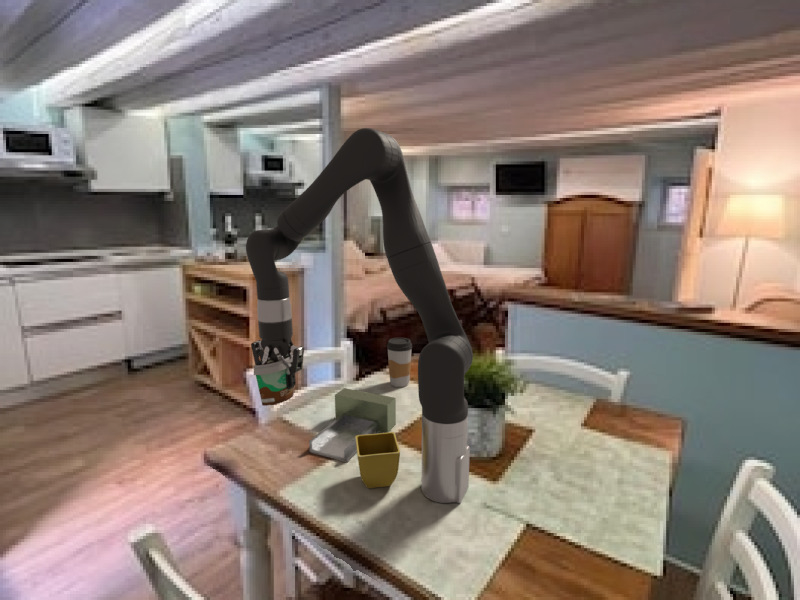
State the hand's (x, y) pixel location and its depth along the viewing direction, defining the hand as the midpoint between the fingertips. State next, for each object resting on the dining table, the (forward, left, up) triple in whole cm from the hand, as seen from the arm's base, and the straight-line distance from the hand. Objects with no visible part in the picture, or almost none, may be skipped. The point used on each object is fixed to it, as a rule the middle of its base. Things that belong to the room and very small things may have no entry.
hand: (279, 385), depth 106 cm
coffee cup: (-9, -49, -17) cm, 53 cm away
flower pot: (-27, +2, -17) cm, 32 cm away
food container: (-1, 0, -3) cm, 3 cm away
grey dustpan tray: (-12, -12, -17) cm, 24 cm away
